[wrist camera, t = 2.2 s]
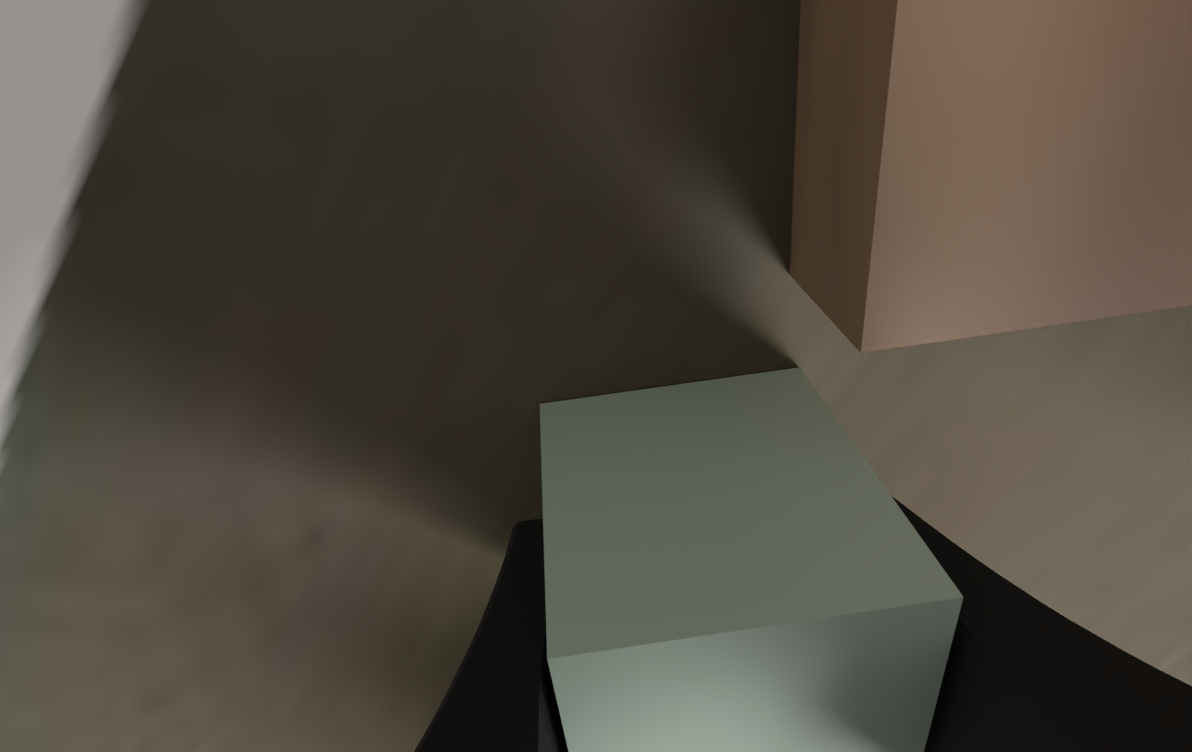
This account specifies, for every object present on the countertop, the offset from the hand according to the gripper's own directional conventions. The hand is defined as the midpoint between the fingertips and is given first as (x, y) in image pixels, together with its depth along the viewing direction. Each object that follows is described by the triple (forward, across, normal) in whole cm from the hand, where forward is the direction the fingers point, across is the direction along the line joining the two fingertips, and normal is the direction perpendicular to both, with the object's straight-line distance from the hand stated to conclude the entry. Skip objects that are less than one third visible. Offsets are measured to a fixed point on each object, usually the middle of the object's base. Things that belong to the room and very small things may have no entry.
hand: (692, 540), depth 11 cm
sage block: (+1, 0, 0) cm, 1 cm away
